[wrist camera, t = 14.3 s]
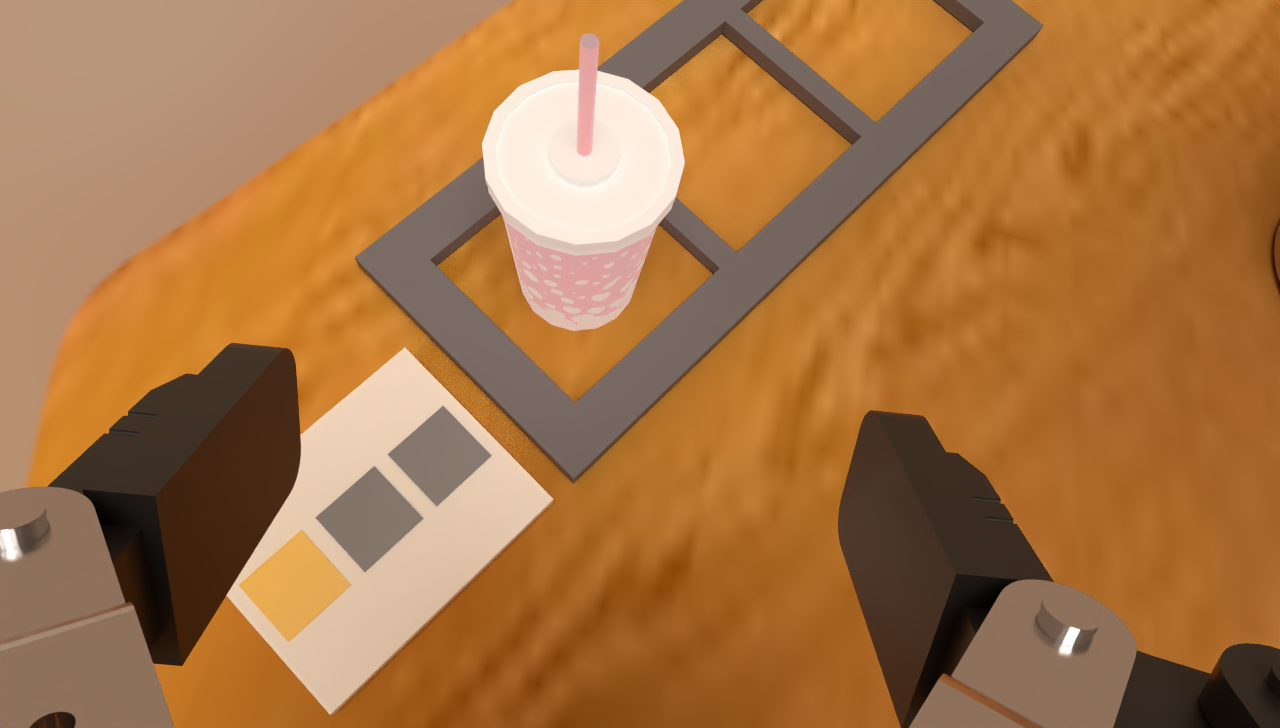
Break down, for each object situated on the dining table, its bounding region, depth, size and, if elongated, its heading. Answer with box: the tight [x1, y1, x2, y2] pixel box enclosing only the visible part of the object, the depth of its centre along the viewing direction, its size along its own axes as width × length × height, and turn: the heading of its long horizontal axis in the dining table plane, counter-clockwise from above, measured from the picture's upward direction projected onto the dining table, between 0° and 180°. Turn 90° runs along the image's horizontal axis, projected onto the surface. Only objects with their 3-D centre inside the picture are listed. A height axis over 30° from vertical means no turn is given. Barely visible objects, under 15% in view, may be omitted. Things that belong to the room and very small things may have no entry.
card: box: [226, 348, 554, 715], centre depth 30 cm, size 10×8×1 cm
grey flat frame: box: [355, 0, 1043, 483], centre depth 37 cm, size 30×12×1 cm, turn 135°
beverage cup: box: [482, 33, 685, 331], centre depth 28 cm, size 6×6×14 cm
